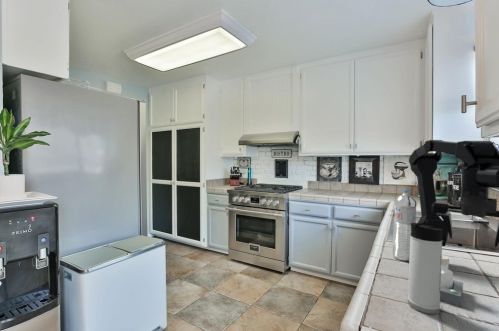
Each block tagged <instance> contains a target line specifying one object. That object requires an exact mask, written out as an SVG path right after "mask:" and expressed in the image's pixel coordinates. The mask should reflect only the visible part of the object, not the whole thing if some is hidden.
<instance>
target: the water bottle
mask: <svg viewBox="0 0 499 331" xmlns="http://www.w3.org/2000/svg"><path fill="white" fill-rule="evenodd" d="M409 192H410V190H409V189H402V194H400V195H398V196H397V197H396V198H395V200H394V220H393V234H392V236H393V237H392V238H393V241H392V256H393V258H394V259H396V260H399V261H402V262H409V259H410V238H411V237H410V235H411V226H410V225H411V223H417V222H416V220H417V216H416V215H417V204H418V202H417V201H416V200H415V198H414V197H413V196H412V195H411V194H409Z"/></svg>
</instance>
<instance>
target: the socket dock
mask: <svg viewBox="0 0 499 331" xmlns="http://www.w3.org/2000/svg"><path fill="white" fill-rule="evenodd" d="M463 292H464V282H461V281H457V280H454V279H453V289H447V288H444V287H440V302H445V303H447V304H450V305H453V306H457V307H459V308H461V306H462V298H463V294H464V293H463Z"/></svg>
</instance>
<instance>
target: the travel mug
mask: <svg viewBox="0 0 499 331" xmlns="http://www.w3.org/2000/svg"><path fill="white" fill-rule="evenodd" d="M410 226H411V235H410V237H411V238H410V259H409V261H408V262H409V264H408V266H409V267H408V268H409V269H408V288H407V295H408V296H407V304H408V305H409V307H411V308H412V309H414V310H416V311H418V312H420V313H423V314H428V315H437V314H438V313H440V307H441V306H440V304H441V301H440V285H441V259H442V255H443V246H442V229H437V228H434V227H433V226H429V225H424V224H418V222H416V223H411V225H410Z"/></svg>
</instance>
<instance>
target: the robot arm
mask: <svg viewBox="0 0 499 331" xmlns="http://www.w3.org/2000/svg"><path fill="white" fill-rule="evenodd" d="M433 152H434V153H433ZM442 154H446V155H452V156H454V158H455V159H457V160H460V161H462V163H460V164H458V165H457V167H456V168H457V170H461V184H460V185H461V187H460V189H461V190H460V199H459V205H451V204H450V202H445V201H437V194H436V187H435V180H434V174H435V173H436V171H437V169H438V163H439V162H441V160H442V159H443V155H442ZM408 163H409V165H410V170H411V172H412V173H413V174H414V175H415V176H416V178H417V180H416V181H417V187H418V197H419V203H420V204H419V205H420V213H421V216H420V217H419V219H418V221H417V223H418V224H424V225H429V226H433V227H434V228H437V229H442V247H445V246H446V245H447V244H446V243H447V241H448V238H449V239H450V240H452V239H453V238H454V236H453V235H454V232H453V222H452V221H453V220H452V213H459V214H462V215H463V216H467V217H468V216H473V217H477V218H486V217H491V218H499V210H497V209H498V200H497V198H491V197H489V193H490V189H497V190H499V151H498V149H497V147H496V146H495V143H494V142H493V141H490V140H486V141H485V140H462V141H446V140H442V139H429V140H426V141H425V142H424V143H423V145H421V146H419V147H418V148H416V149H414V150H413V152H412V153H411V154H410V156H409V157H408ZM498 245H499V220H498V223H497V226H496V231H495V236H494V247H495V248H496V247H498Z"/></svg>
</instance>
